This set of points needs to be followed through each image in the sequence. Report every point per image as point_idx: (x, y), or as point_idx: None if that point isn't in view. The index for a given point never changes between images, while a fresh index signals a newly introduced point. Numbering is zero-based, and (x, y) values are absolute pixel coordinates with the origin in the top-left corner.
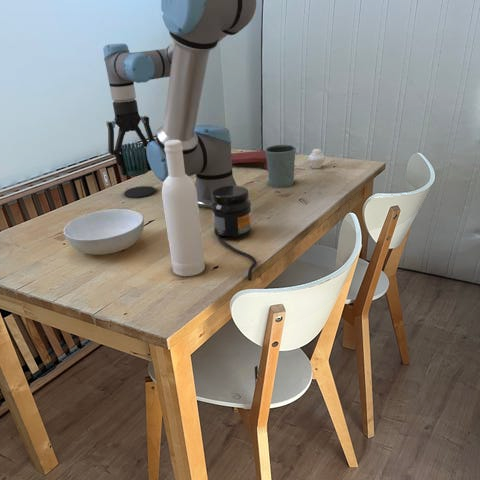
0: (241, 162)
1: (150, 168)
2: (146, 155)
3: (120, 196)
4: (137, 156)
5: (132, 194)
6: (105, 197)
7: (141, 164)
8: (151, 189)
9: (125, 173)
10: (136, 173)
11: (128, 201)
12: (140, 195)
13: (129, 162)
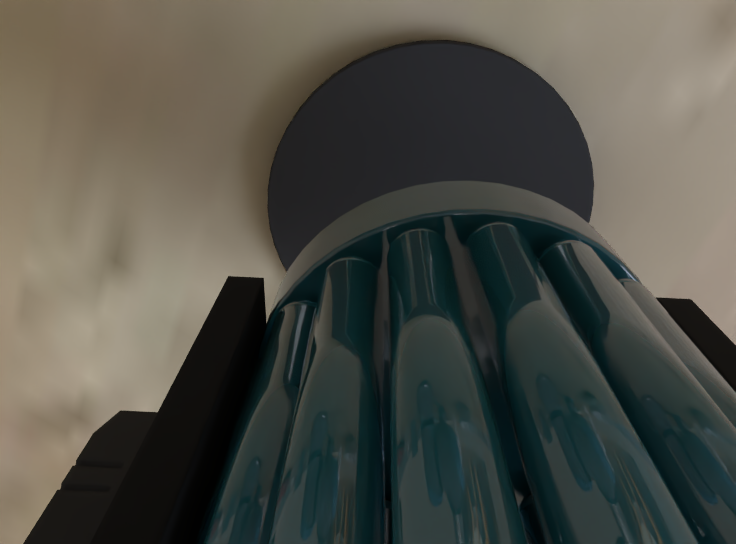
0: None
1: (233, 292)
2: (196, 500)
3: (621, 238)
4: (547, 403)
5: (539, 167)
6: (728, 300)
7: (428, 264)
8: (310, 187)
9: (670, 312)
10: (536, 204)
11: (661, 24)
12: (490, 73)
13: (711, 373)
